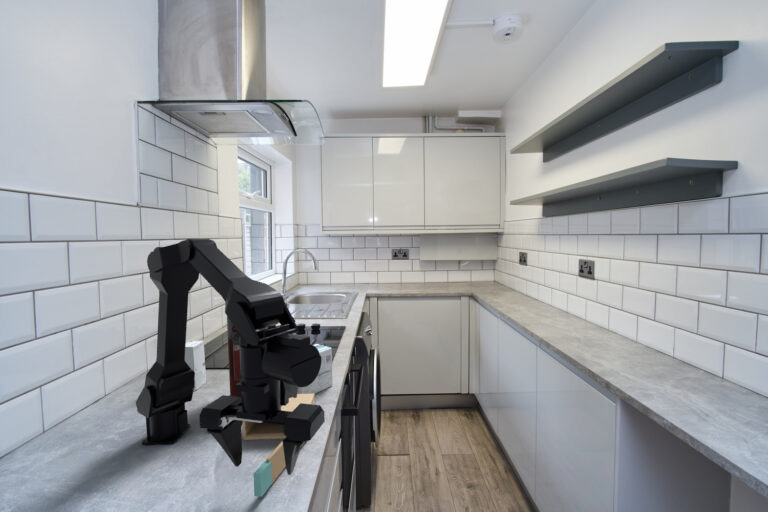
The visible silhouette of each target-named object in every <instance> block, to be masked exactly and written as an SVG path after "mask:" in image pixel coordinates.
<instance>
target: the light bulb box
mask: <svg viewBox="0 0 768 512" xmlns="http://www.w3.org/2000/svg"><path fill="white" fill-rule="evenodd" d="M312 345H313V346H315V347H316V348H317V349H318V351H319V354H320V356H321V367H320V371H319V373H318V376H317V377H316V379H315V380H314V381H313V382H312V383H311V384H310V385H309V386H307V387H298V393H297V394H314V393H315V394H317V393H319V392H322V391H323V390H326V389H329V388H331V387H333V353H332V351H333V350H332V347H330V346H327V345H322V344H319V343H315V344H312Z"/></svg>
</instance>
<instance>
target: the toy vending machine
mask: <svg viewBox="0 0 768 512" xmlns="http://www.w3.org/2000/svg"><path fill="white" fill-rule="evenodd" d="M226 325H227V328H226V329H227V331H226V332H227V348H228V349H227V351H228V352H227V354H228V375H229V376H228V377H229V379H228V381H229V396H235V397H241V398H242V394H241V392H239V391H236V386H235V385H236V384H237V383H239V382H240V381H241V369H240V343H239V342H235V341H232V336H233V335H234V334H236V333H237V332H238V330H237V329H236V328H235V327H234V325H233V324H232V322H231V321H230V319H229V318H228V316H227V315H226ZM265 329H269V327H265V328H261V329H258V330H259V331H261V330H265Z"/></svg>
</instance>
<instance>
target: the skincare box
mask: <svg viewBox="0 0 768 512" xmlns="http://www.w3.org/2000/svg"><path fill="white" fill-rule="evenodd" d="M204 341H205V340H190V341H188V342H187V341H186V347H185V362H186V363H187V364H188V366H189V367H190V368H191V369H192V370H193V371H194V372H195V377H194V381H195V384H194V385H195V388H194V390H193V392H196V391H197V390H198V389H200V388H201V387H202V386H203V385H204V384H206V383H207V376H206V374H207V373H206V360H205V359H206V358H205V342H204Z"/></svg>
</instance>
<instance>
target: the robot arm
mask: <svg viewBox="0 0 768 512" xmlns="http://www.w3.org/2000/svg"><path fill="white" fill-rule="evenodd" d="M146 263H147V269H148V271H149V272H148V273H149V278H150V280H151V281H152V282H153V284H154V285H155V286H156V288H157V290H158V312H157V313H158V315H157V316H158V317H157V334H156V335H157V337H156V338H157V340H156V359H155V362H154V363H153V365H152V366H151V367H150V369H149V371H148V372H147V373H146V374H145V381H144V387H143V388H142V390H141V391H140V393H139V395H138V397H137V399H136V400H135V405H136V411H137V413H138V414H139V415H141V416H143V417H144V418H145V428H146V430H145V431H146V437H145V438H144V439H143V440H142V441H141V445H144V446H145V445H169V444H171V445H172V444H174V443H176V442H177V441H178V440H179V439H180V438H181V437H182V436H183V435H184V434H185V432H187V430H189V428H190V427H191V423H189V418H188V413H189V412H188V410H187V409H186V403H188V402H189V403H190V402H192V400H193V397H194V396H193V395H194V391H193V390H194V388H195V385H194V384H195V381H194V377H195V372H194V371H193V370H192V369H191V368H190V367H189V366H188V364H187V363H186V362H185V347H186V343H187V329H188V328H187V326H188V325H187V324H188V310H189V309H188V307H189V293H190V291H191V290H192V289H193V287H194V286H195V285H196V283H197V281H198V280H199V279H200V275H201V276H202V277H203V279H204V280H206V281H207V283H208V284H209V285H210V286H211V287H212V288H213V290H215V291H216V292H217V293H218V294H219V296H220V297H222V299H223V301H224V302H225V303H224V304H225V305H224V313H225V316H226V317H227V316H228V318H229V319H230V321H231V322H232V324H233V325H234V327H235V328H236V329H237V330H238V332H237V333H236V334H234V335H233V336H232V341H235V342H239V343H240V369H241V381H240V382H239V383H237V384H236V385H235V386H236V391H239V392H241V394H242V398H241V397H235V396H230V395H225V394H222V395H221V396H219V397H218V398H216V399H214V400H213V401H211V402H210V403H209V404H207V405H205V406H204V407H203V408H202V410H201V411H200V413H199V415H198V416H199V422H198V423H199V428H200V429H204V430H206V434H208V435H211V436H212V438H213V439H214V440H215V441H216V442H217V443H218V444H219V447H221V449H222V450H223V451H224V453H226V455H227V456H228V459H230V461H231V463H232V464H233V465H234V467H236V468H238V467H239V466H240V465H241V464H242V460H243V432H242V423H243V421H249V422H257V423H262V422H263V423H271V424H279V425H284V435H285V436H286V438H284V439H283V440H282V441H283V449H284V457H285V464H286V467H285V469H286V473H287V475H289V476H291V475H292V474H293V472H294V470H295V467H296V465H297V461H298V458H299V454H300V451H301V449H302V447H301V445H302V444H303V443H304V442H305V443H306V442H309V441H311V440H312V439H313V438H314V437H315V435H316V433H317V432H319V430H320V428H321V427H322V426H323V424H324V423H325V410H324V408H323V407H322V406H321V405H320V404H315V405H313V404H303V403H300V404H299V405H298V406H297V407H296V408H295V409H294V410H293V411H292V412H291V411H282V410H281V406H286V405H287V404H288V403H289V398H292V397H294V398H297V393H298V387H307V386H309V385H310V384H311V383H312V382H313V381H314V380H315V379H316V377H317V376H318V373H319V371H320V367H321V356H320V354H319V351H318V349H317V348H316V347H315V346H313V345H314V344H311V337H310V336H308V335H303V334H302V335H301V334H300V335H298V333H299V331H300V329H299V327H298V325H297V323H296V319H295V317H293V315H292V313H291V312H290V310H289V308H288V306H287V304H286V302H285V299H284V297H283V295H282V294H281V293H280V291H278V290H276V289H275V288H273V287H272V286H270V284H269V285H268V283H265V282H261V281H258V280H255V279H252V278H250V277H249V276H248V275H247V274H245V273H244V271H242V269H241V268H239V267H238V265H236V264H235V263H234V262H233V261H232V260H231V259H230V258H229V257H227V255H226V254H224V253H223V252H222V250H221V249H220V248H218V246H217V243H216V241H215V240H213V239H210V238H186V239H184V240H183V239H182V240H181V241H179V242H178V243H174V244H170V245H166V246H157V247H155V248H154V249H153V251H151V252H150V253H148V255H147V260H146ZM278 324H280V325H278ZM275 325H277V326H275ZM272 326H274V327H272ZM265 327H268V329H265V330H261V331H259V330H258V329H261V328H265ZM305 443H304V444H305ZM304 444H303V445H304ZM303 445H302V446H303Z"/></svg>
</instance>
